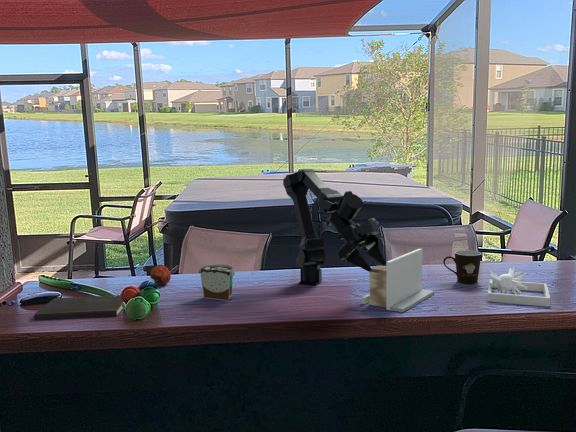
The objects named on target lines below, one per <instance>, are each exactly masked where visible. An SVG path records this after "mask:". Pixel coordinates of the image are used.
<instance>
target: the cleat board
mask: <svg viewBox="0 0 576 432" xmlns="http://www.w3.org/2000/svg"><path fill="white" fill-rule="evenodd" d="M385 266H386V310H387V311H392V312H397V311H398V312H397V313H402V312H403V313H405V312H407V311H409V310H410V309H412V308H414V307H415V306H417V305H419V304H421V303H422V302H423V301H425V300H426V299H427V300H428V299H429V298H430V297H431V296H433V295H435V290H429V289H424V288H423V248H416V249H414V250H413V251H409V252H407V253H405V254H402V255H400V256H397V257H394V258H392V259H389V260H388V261H386V265H385ZM360 300H361V301H360V303H361V305H367V304H370V292H369V293H368V294H365V295H363V296H361V298H360ZM406 310H407V311H406ZM404 311H405V312H404Z"/></svg>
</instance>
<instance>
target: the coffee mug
mask: <svg viewBox="0 0 576 432" xmlns="http://www.w3.org/2000/svg"><path fill="white" fill-rule="evenodd" d="M448 259H452V260H453V262H454V263H455V269H456V271H455V270H453V269H452V268H450V267H449V266H448V265H447V264H446V260H448ZM481 260H482V252H480V251H477V250H476V251H475V250H468V249H467V250H464V249H463V250H457V251H456V250H455V251H454V257H453V256H451V255H449V256H446V257H444V258H443V262H442V264H443V266H444V267H445V268H446V269H447V270H448V271H451V272H452V273H453V274H455V275H456V279H457V280H456V281H457V283H459V284H462V285H476V284H478V281H479V274H480V267H481Z"/></svg>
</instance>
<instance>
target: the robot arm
mask: <svg viewBox="0 0 576 432" xmlns="http://www.w3.org/2000/svg"><path fill="white" fill-rule="evenodd" d="M282 181H283V182H282V185H283V187H284V189H285V193H286V195H288V197H289V198H291V200H292V203H293V205H294V206H293V207H294V211H295V214H296V219H297V223H298V227H299V233H300V236H301V241H300V244H299V252H298V254H297V255H296V258H295V265H296V266H297V267H300V268H299V271H300V281H298V284H299V285H309V286H310V285H312V286H317V285H318V284H320V283H321V282H323V278H322V277H323V275H322V274H323V273H322V272H323V271H322V268H321V266H323V265H325V260H326V254H327V252H326V248H325V245H324V240H323V238H322V237H318V235H316V231H315V227H314V222H313V219H312V214H311V210H310V206H309V202H308V196H307V194H308V191H310V192H312V194H313V195H314V196H315V198H316V199H317V205H318V206H319V208H320V210H321V211H322V212H323V213H324V214H327V213H331V214H330V215H329V216H326V222H325V226H326V227H329V226H332V227H333V228H334V230H336V231H335V232H337V233H338V235H339V236H338V239H339V240H340V241H341V240H343V241H344V243H343V245H341V247H340V248H339V249H337V252H336V254H337V257H338V259H339V260H340V261H343V260H344V262H348V263H350V264H352V265H355V266H357V267H359V268H360V269H363V270H365V271H367V272H368V273H370V271H371V270H372V269H371V268H372V267H371V265H370V263H369V262H368V260H367V259H366V257H365V256H364V255H363V251H362V249H363V250H364V251H366V253H365V254H367V255H368V256H370V258H373V259H374V260H375V261H377V262H378V263H380V264H381V266H386V262H387V261H386V258H385V256H384V253H383V250H382V246H381V245H382V242H383V236H382V234H380V232H377V231H379V230H380V228H379V226H380V222H379V221H378V220H377V219H376V218H374V217H372V218H370V219H367V220H366V222H365V223H362V224H360V223H359V222H357V223H355V222H354V221H353V219H355V217H356V215H357V214H358V212H359V211H360V210H361V208H362V207H363V205H364V203H363V199H362V198H361V197H360V196H358V195H356V194H355V193H353V191H351V190H348V191H344V194H342V193H341V192H339V191H338V190H336V189H332V188H330V187H328V185H327V184H325V182H324V181H323V179H321V178H320V177H319V176H318V175H317V174H316V172H315V170H314V169H312V168H308V169H300V170H298V171H295V172H293V173H289V174H287V175H285V177H284V178H283V180H282ZM375 231H376V232H375Z"/></svg>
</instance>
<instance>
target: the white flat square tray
mask: <svg viewBox="0 0 576 432" xmlns="http://www.w3.org/2000/svg"><path fill="white" fill-rule="evenodd" d="M489 282H490V283H491V284H492V279H489ZM517 282H520V283H522V284H523V285H524V286H526V287H528V288H526V289H525V288H523V287H517V288H518V289H519V290H520V291H528V292H529V291H531V292H542V293H543V295H544V296H537V295H535V296H534V295H525V294H517V295H515V293H514V294H512V293H507V294H505V293H504V294H502V292H499V293H498V292H493V289H498V284H497V285H496V287H492V290H491V288H490V286H489V285H488V290H487V302H493V303H501V304H502V303H503V304H516V305H525V306H538V307H546V308H547V307H550V306H551V295H550V291H549V288H548V283H543V282H542V283H541V282H533V281H532V282H530V281H528V282H527V281H517ZM494 285H495V283H494Z"/></svg>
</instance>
